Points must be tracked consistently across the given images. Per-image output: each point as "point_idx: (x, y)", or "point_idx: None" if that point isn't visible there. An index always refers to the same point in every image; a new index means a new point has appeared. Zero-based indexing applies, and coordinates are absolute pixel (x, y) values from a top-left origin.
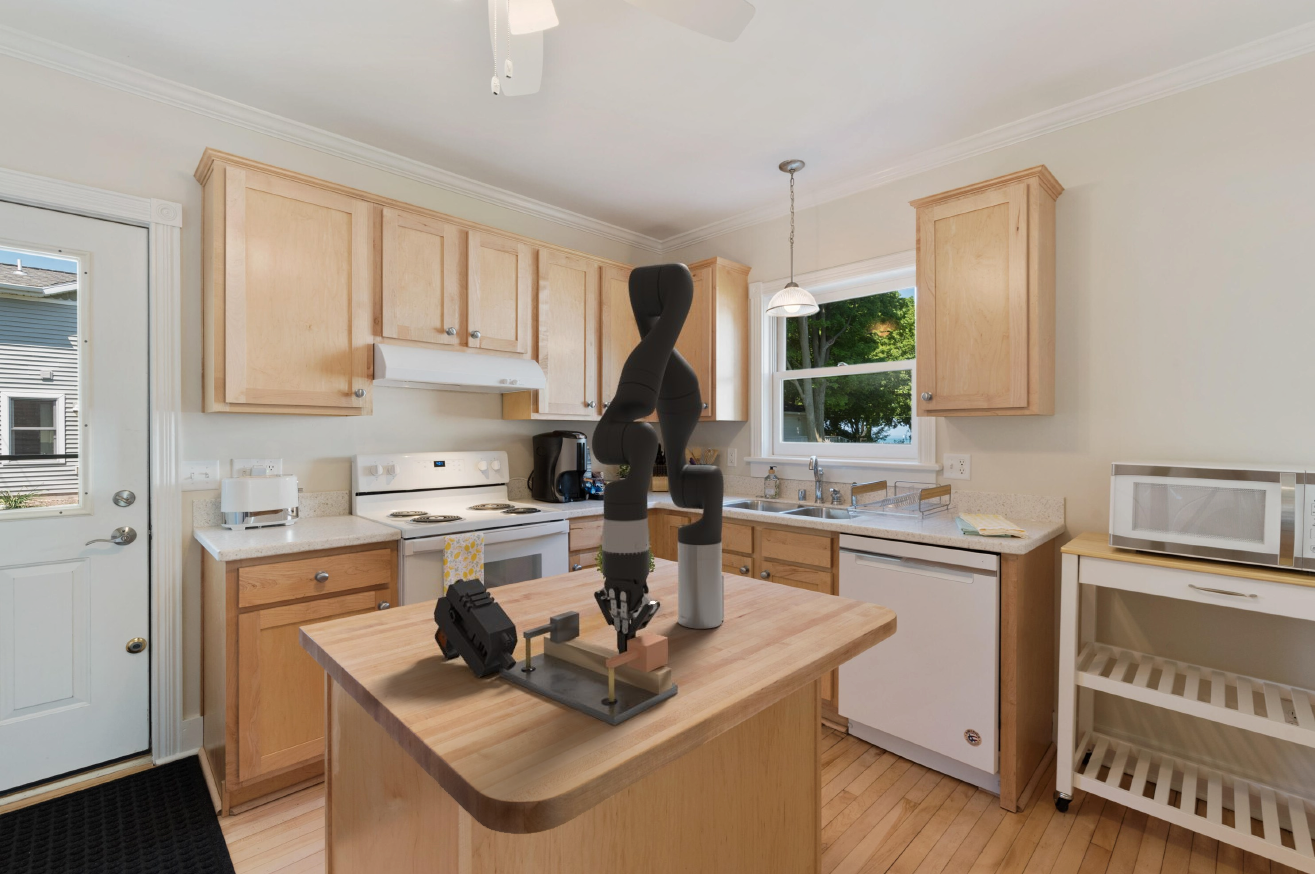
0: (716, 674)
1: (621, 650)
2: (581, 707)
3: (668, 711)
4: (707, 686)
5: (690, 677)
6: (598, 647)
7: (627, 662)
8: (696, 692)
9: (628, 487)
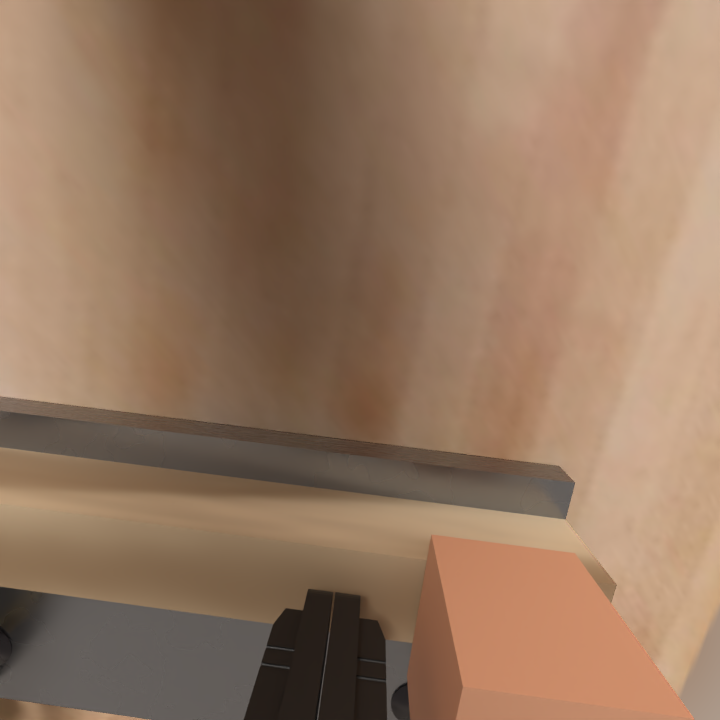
0: (638, 203)
1: (322, 679)
2: None
3: None
4: (649, 350)
5: (537, 306)
6: (99, 537)
7: (409, 696)
8: (627, 425)
9: None
